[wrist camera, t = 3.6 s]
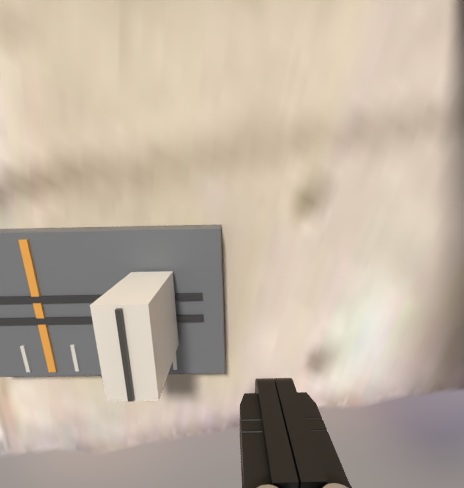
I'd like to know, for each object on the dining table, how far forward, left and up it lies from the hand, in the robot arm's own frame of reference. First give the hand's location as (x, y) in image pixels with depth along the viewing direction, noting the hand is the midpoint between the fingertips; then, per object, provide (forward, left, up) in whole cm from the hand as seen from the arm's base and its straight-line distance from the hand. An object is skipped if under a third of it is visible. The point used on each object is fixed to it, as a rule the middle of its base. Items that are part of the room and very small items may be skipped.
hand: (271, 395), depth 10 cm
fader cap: (+7, 0, -8) cm, 11 cm away
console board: (+12, 0, -10) cm, 16 cm away
